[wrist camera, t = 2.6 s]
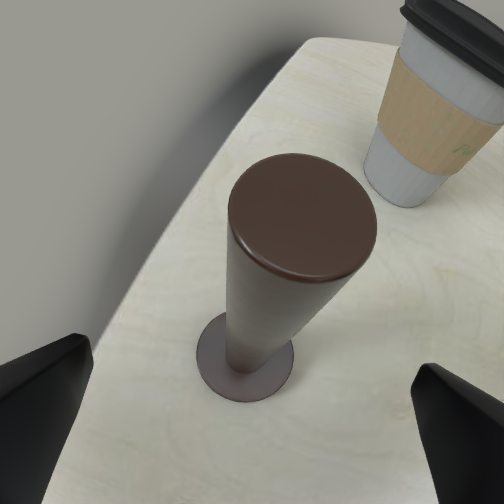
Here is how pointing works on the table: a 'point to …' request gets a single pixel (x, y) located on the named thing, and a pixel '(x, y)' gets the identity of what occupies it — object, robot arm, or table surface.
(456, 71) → the coffee cup
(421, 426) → the robot arm
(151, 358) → the table surface
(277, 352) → the dark brown rod
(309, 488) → the table surface
